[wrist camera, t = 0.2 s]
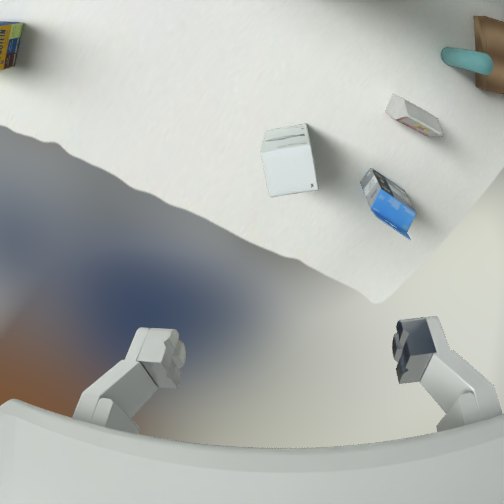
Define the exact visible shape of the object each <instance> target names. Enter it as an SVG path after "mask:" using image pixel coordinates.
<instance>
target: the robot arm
mask: <svg viewBox="0 0 504 504" xmlns="http://www.w3.org/2000/svg"><path fill="white" fill-rule="evenodd" d="M396 328H397V333H396V334H394V337H393V343H392V350H393V356H394V359H395V360H396V361H397V362H398V365H397V368H396V371H397V376H398V381H399V384H402V383H411V382H418V381H420V383H421V385H422V386H423V387H424V388H425V389H426V390H427V392H428V393H429V394H430V395H431V396H432V397H433V399H434V400H435V401H436V402H437V403H438V405H439V406H440V407H441V408H442V409H443V410H444V412H445V413H446V415H445V416H444V417H443V418H442V420H441V421H440V422H439V423H438V425H437V432H436V433H431V434H426V435H421V436H416V437H410V438H404V439H398V440H391V441H384V442H376V443H368V444H358V445H348V446H334V447H316V448H253V447H233V446H220V445H209V444H200V443H191V442H182V441H176V440H169V439H163V438H156V437H150V436H145V435H140V434H138V432H139V427H138V426H137V425H136V424H135V423H134V422H133V421H132V420H131V418H132V417H133V415H134V414H135V413H136V412H137V411H138V410H139V409H140V408H141V407H142V406H143V404H145V402H146V401H147V400H148V399H149V398H150V397H151V396H152V395H153V394H154V392H155V391H156V390H157V389H158V387H162V388H178V384H179V381H180V378H181V373H180V371H179V369H180V368H181V367H182V366H183V365H184V363H185V357H186V356H185V355H186V353H185V352H186V351H185V347H184V344H183V342H181V341H180V340H179V339H178V337H179V334H178V332H177V330H175V329H159V328H158V329H157V328H139V329H138V330H137V332H136V334H135V337H134V339H133V341H132V344H131V346H130V349H129V351H128V353H127V356H126V359H125V360H121V361H120V362H119V363H118V364H116V365H115V366H114V367H113V368H112V369H110V370H109V371H108V372H107V373H105V374H104V375H103V376H102V377H100V378H99V379H98V380H97V381H96V382H95V383H93V384H92V385H91V386H90V387H88V388H87V389H86V390H85V391H84V392H83V393H82V395H81V397H80V400H79V402H78V405H77V407H76V410H75V412H74V415H73V417H72V418H70V417H66V416H63V415H60V414H57V413H53V412H51V411H48V410H45V409H42V408H39V407H36V406H33V405H31V404H28V403H25V402H23V401H20V400H17V399H11V400H9V401H7V402H6V403H4V404H3V405H1V406H0V504H504V414H502V411H501V407H500V403H499V400H498V397H497V393H496V390H495V387H494V385H493V384H492V383H491V382H490V381H488V380H487V379H486V378H485V377H484V376H483V375H482V374H480V373H479V372H478V371H477V370H476V369H475V368H474V367H472V366H471V365H470V364H469V363H468V362H467V361H466V360H464V359H463V358H462V357H461V356H460V355H458V354H457V353H456V352H455V351H454V350H451V351H450V349H449V346H448V343H447V340H446V337H445V334H444V332H443V329H442V326H441V323H440V321H439V318H438V317H437V316H432V317H424V318H423V317H421V318H413V319H405V320H399V321H398V322H397V326H396Z"/></svg>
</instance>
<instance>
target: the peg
mask: <svg viewBox="0 0 504 504" xmlns="http://www.w3.org/2000/svg"><path fill="white" fill-rule="evenodd" d="M441 57H442V60H443V61H444V63H446V64H447V65H451V66H455V67H459V68H462V69H466V70H470V71H473V72H477V73H480V74H483V75H489V74H490V73H491V72H492V70H493V61H492V59H491V57H490V56H489V55H488V54H486V53H481V52H476V51H470V50H464V49H457V48H450V47H446V48H444V49H443V50H442V52H441Z"/></svg>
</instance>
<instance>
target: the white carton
mask: <svg viewBox="0 0 504 504" xmlns="http://www.w3.org/2000/svg"><path fill="white" fill-rule="evenodd" d="M385 112H386V113H388V114H389V115H390V116H391V117H393V118H394V119H395V120H397V121H399V122H401V123H403V124H405V125H407V126H409V127H411V128H413V129H415V130H416V131H418V132H420V133H422V134H424V135H426V136H427V137H434V136H442V135H441V134H443V132H442V130H441V127H440V124H439V120H438V118H436V117H435V116H433V115H432V114H430V113H428V112H427V111H425V110H423V109H421V108H420V107H418V106H416V105H414V104H412V103H410V102H409V101H407V100H405V99H403V98H401V97H399V96H397V95H395V94H392V97H391V99H390V101H389V104H388V106H387V108H386V110H385ZM443 135H444V134H443Z"/></svg>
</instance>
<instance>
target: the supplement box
mask: <svg viewBox="0 0 504 504" xmlns="http://www.w3.org/2000/svg"><path fill="white" fill-rule="evenodd" d="M260 156H261V160H262V164H263V169H264V173H265V178H266V183H267V187H268V192H269V196H270V197H277V196H283V195H289V194H297V193H302V192H309V191H316V190H319V187H318V180H317V173H316V167H315V161H314V156H313V151H312V146H311V141H310V136H309V132H308V128H307V124H306V123H305V124H300V125H295V126H289V127H283V128H277V129H270V130H266V131H265V135H264V140H263V144H262V147H261V151H260Z"/></svg>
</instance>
